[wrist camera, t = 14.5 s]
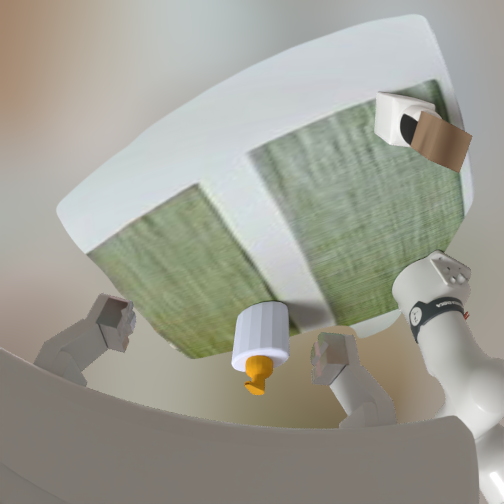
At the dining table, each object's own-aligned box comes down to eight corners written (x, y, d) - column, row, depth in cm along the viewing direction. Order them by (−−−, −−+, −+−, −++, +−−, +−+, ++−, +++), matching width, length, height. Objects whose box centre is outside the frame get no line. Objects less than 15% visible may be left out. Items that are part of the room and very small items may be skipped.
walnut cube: (450, 124, 27) (472, 135, 23) (439, 158, 30) (458, 173, 26) (421, 110, 27) (441, 119, 23) (410, 146, 30) (428, 159, 26)
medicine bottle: (411, 137, 39) (447, 162, 30) (373, 133, 40) (403, 156, 30) (415, 97, 35) (454, 111, 26) (375, 91, 36) (408, 101, 26)
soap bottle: (277, 293, 62) (276, 375, 46) (295, 314, 66) (298, 392, 49) (229, 313, 67) (217, 390, 51) (248, 332, 71) (242, 404, 54)
